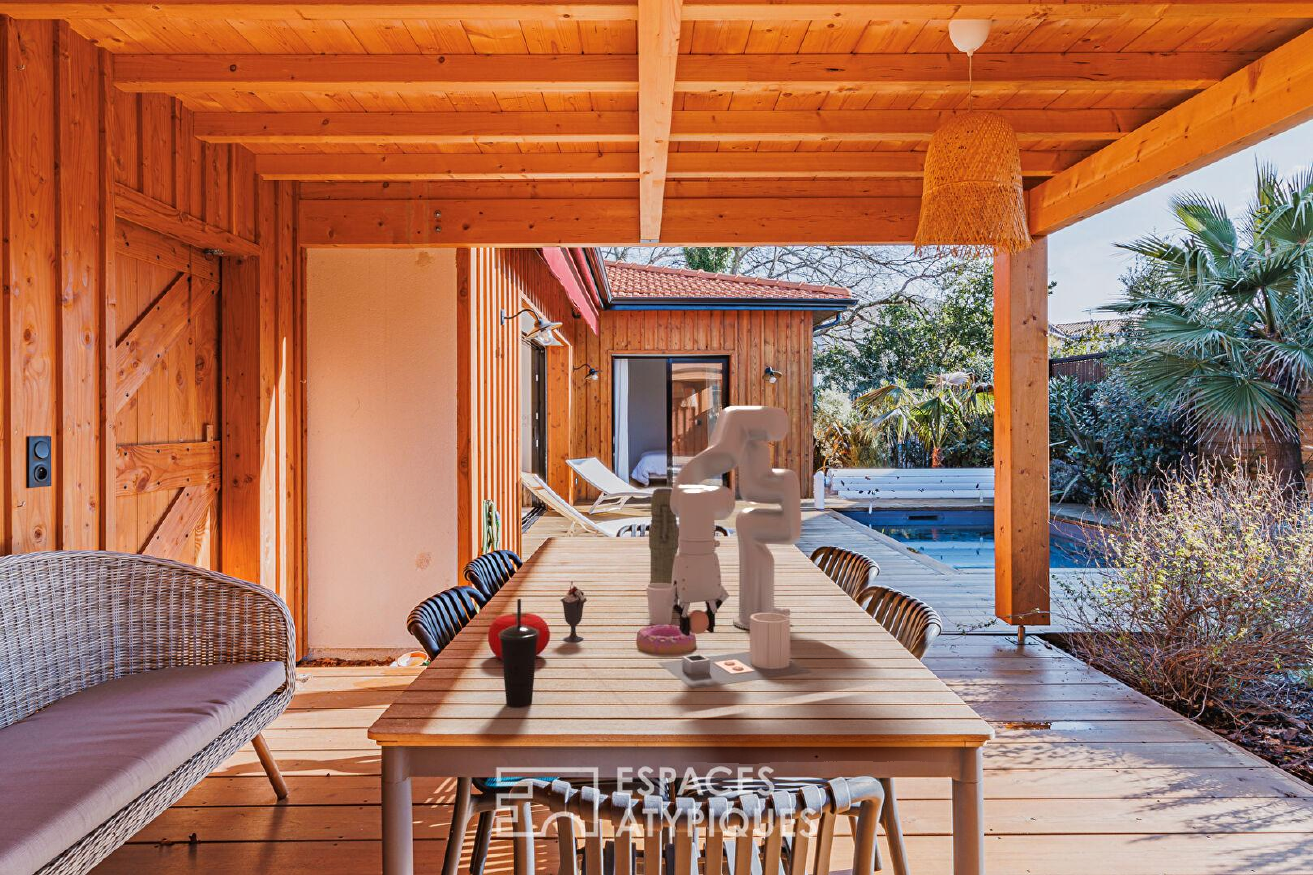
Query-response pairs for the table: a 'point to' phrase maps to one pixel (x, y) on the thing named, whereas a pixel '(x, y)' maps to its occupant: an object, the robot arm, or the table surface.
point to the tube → (770, 640)
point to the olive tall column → (662, 537)
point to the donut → (664, 639)
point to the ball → (698, 621)
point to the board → (730, 671)
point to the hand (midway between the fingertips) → (697, 631)
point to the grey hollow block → (696, 665)
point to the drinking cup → (519, 661)
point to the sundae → (573, 611)
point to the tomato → (511, 620)
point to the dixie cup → (659, 603)
